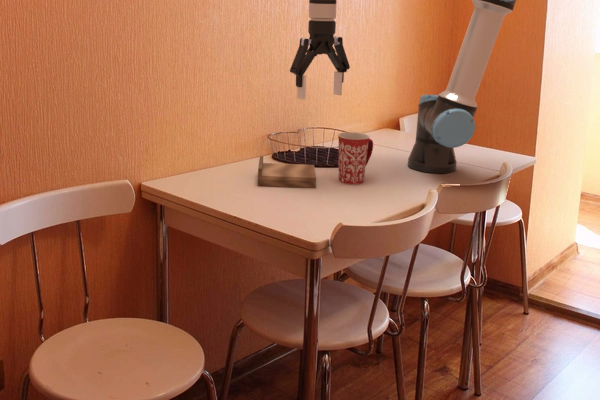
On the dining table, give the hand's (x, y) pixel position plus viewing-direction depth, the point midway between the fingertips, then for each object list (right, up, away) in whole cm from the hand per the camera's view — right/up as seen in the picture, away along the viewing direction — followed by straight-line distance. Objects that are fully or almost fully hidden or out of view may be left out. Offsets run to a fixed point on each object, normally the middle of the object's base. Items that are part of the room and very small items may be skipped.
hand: (319, 96), depth 199 cm
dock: (-9, -24, +2) cm, 25 cm away
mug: (+10, -24, +5) cm, 26 cm away
